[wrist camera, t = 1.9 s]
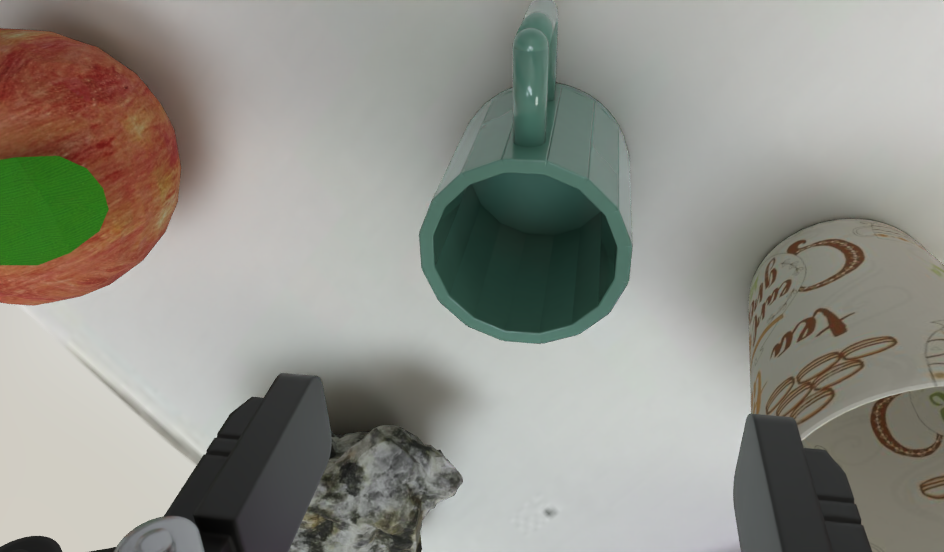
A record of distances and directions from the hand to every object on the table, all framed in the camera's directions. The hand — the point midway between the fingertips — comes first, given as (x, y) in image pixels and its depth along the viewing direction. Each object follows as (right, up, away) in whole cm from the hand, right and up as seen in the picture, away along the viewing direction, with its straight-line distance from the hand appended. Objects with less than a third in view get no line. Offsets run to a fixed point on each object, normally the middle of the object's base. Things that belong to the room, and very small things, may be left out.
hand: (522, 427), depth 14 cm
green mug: (+1, +8, +11) cm, 14 cm away
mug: (+13, +1, +13) cm, 19 cm away
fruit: (-14, +9, +14) cm, 22 cm away
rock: (-1, -5, +19) cm, 19 cm away
